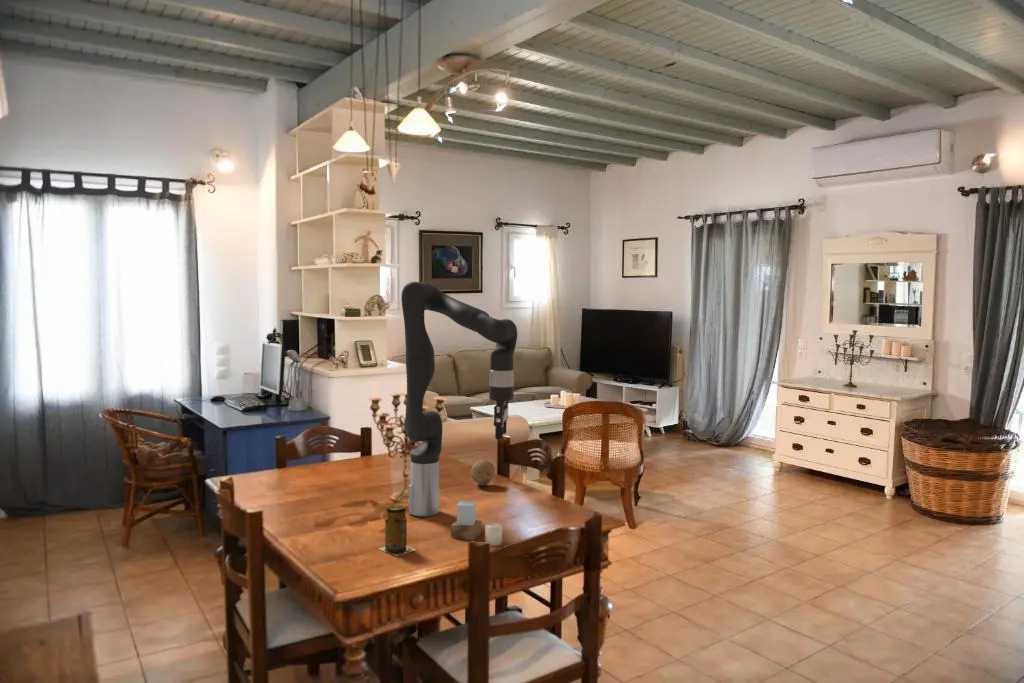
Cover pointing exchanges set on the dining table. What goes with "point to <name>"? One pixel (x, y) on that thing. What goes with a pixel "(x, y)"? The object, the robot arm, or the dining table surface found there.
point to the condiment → (396, 531)
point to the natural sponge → (482, 472)
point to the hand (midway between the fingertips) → (500, 436)
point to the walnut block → (466, 531)
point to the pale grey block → (466, 512)
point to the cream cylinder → (493, 533)
